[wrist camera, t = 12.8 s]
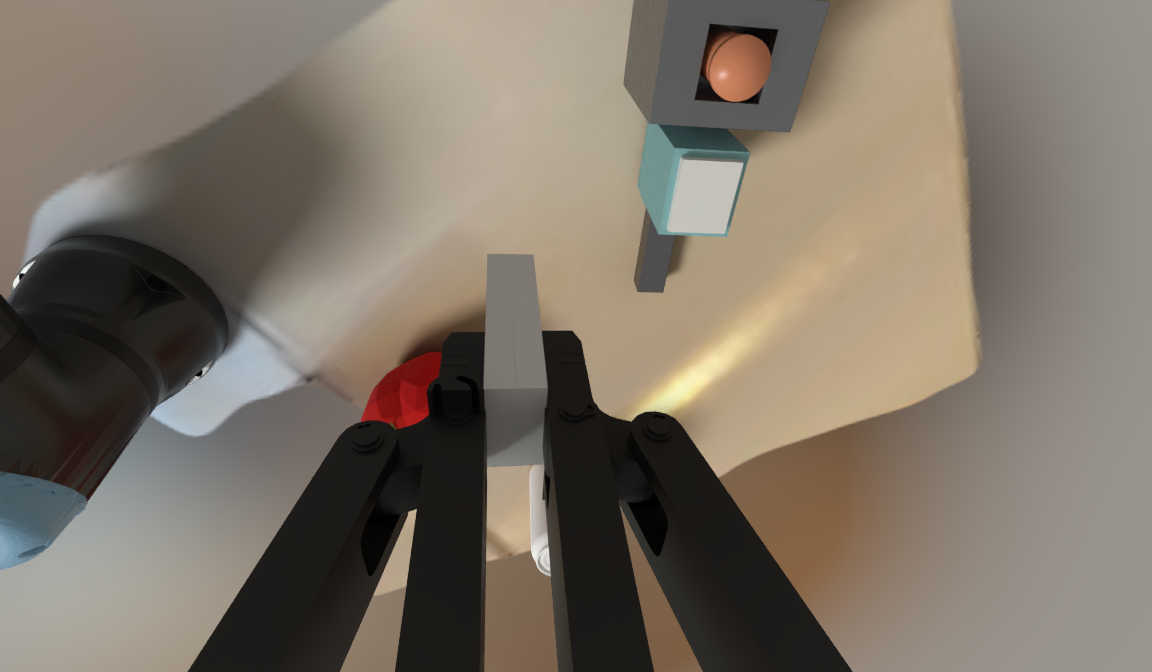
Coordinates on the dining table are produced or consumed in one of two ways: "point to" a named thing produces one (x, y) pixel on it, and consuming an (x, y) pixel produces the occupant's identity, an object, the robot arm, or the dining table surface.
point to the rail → (652, 258)
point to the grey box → (675, 51)
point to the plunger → (734, 63)
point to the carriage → (691, 178)
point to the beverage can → (538, 520)
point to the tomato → (404, 392)
